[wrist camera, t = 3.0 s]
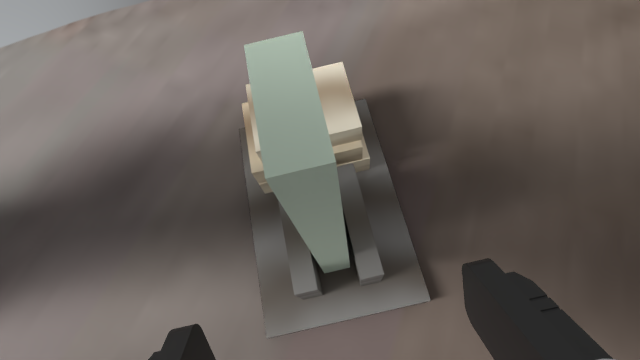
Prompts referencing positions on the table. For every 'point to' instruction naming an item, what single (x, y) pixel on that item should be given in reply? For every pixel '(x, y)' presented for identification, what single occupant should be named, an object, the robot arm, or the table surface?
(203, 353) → the robot arm
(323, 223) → the slat
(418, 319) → the table surface
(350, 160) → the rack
